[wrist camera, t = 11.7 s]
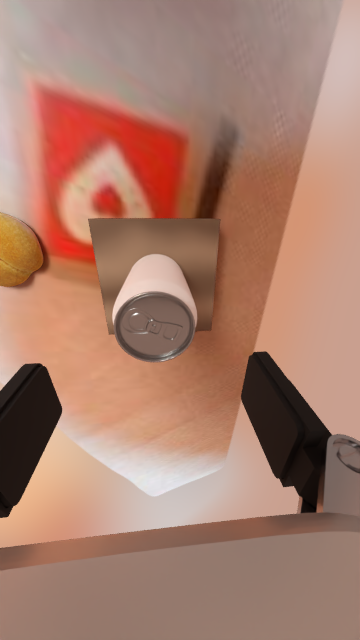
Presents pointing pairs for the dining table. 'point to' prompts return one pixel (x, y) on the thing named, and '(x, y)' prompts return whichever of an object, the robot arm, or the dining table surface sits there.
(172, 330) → the can
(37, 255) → the bread roll
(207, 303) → the block
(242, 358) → the dining table surface
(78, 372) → the dining table surface
